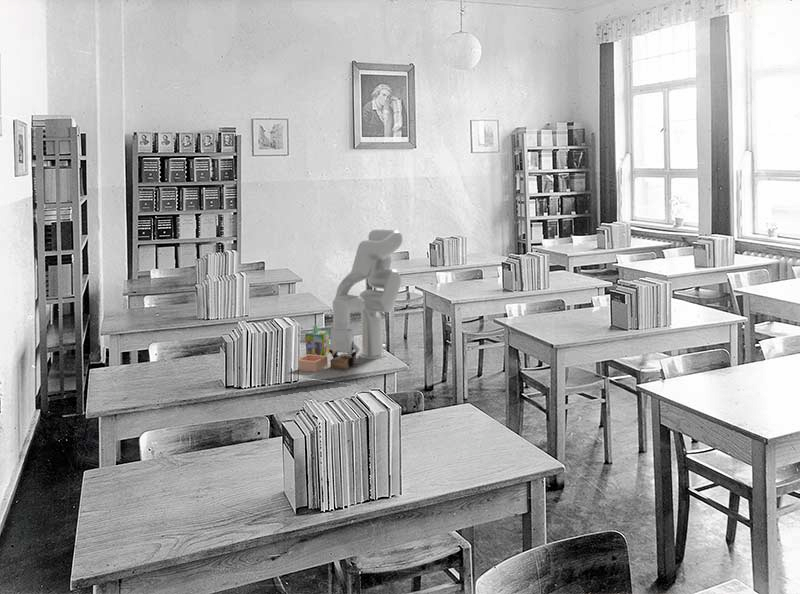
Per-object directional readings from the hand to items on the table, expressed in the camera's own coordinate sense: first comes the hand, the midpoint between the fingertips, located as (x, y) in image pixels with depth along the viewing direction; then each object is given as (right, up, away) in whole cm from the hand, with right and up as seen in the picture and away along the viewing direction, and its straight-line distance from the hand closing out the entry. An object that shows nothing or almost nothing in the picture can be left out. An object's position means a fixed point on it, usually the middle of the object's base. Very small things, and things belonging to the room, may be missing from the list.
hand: (343, 364), depth 327 cm
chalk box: (-14, +2, +20) cm, 25 cm away
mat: (0, -1, 0) cm, 1 cm away
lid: (0, -1, 0) cm, 1 cm away
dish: (-14, -2, -1) cm, 14 cm away
